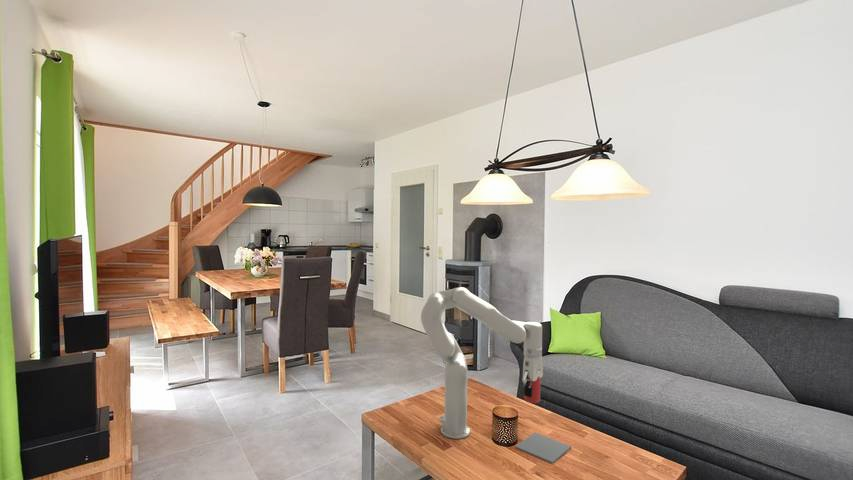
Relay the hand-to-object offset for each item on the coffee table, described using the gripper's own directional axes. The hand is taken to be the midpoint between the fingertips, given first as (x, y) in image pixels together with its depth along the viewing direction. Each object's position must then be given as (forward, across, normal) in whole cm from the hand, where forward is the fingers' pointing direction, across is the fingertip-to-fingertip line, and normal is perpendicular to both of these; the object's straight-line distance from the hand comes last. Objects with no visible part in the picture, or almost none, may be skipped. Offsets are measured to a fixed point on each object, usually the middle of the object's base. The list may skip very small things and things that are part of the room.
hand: (532, 393), depth 171 cm
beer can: (+3, 0, 0) cm, 3 cm away
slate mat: (+18, -7, -8) cm, 21 cm away
